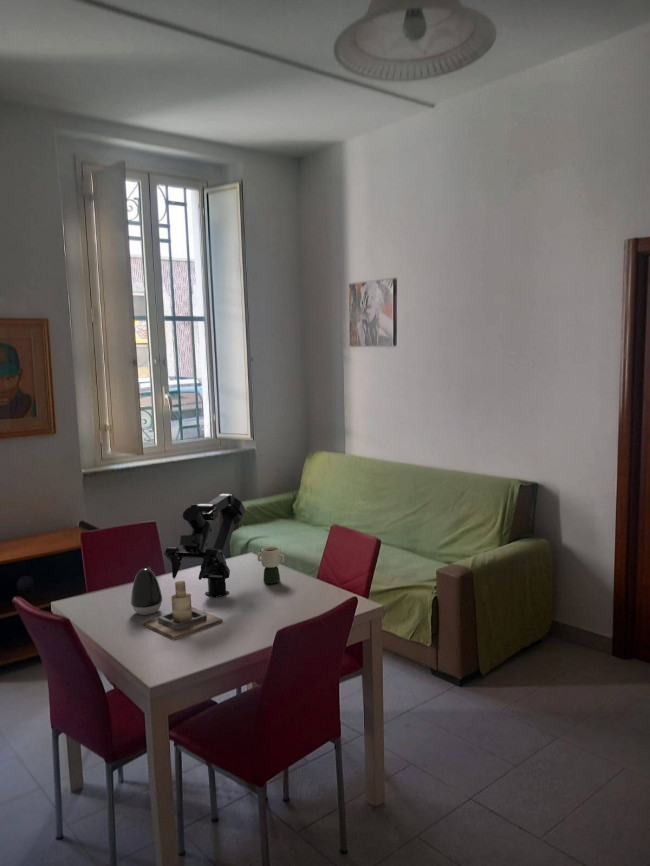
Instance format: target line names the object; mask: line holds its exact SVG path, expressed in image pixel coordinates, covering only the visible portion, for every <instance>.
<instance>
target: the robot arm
mask: <svg viewBox="0 0 650 866" xmlns="http://www.w3.org/2000/svg"><path fill="white" fill-rule="evenodd" d="M245 508H246V507H245V505H244V504H243V502H242V501H241V500H239V499H238V498H236V497H235V496H234V494H231V493H220V494H219V495H218V496H217V497H215V498H214V499H212V500H210V501H209V502H201V503H198V504H196V503H195V504H194V503H193V504H191V506H190V507H187V508H185V510H184V511H183V513H182V518H183V520H184V521H185V523H186V524H187V526H188V527H189V528H190V529H191V533H190V534H188V535H184V534H183V535H182V534H181V535H180V539H179V546H182V549H183V550H185V551H181V550H180V549H179V548H178V547H175V546H174V547H173V546H172V547H171V546H167V547H166V548H165V549H164V553H163V554H164V556H165V557H166V558H167V559H168V561H169V562H170V563H171V571H172V572H171V574H172V576H171V577H172V579H173V580H175V579H176V577H177V575H178V573H179V570H180V567H181V565H182V562H181V561H182V559H183V558H187V559H188V558H189V559H191V558H192V559H202V562H201V564H200V571H199V574H198V580H200V581H201V580H202V579H204V580H205V579H207V586H208V587H207V589H208V591H206V592H204V595H206V596H208V597H209V596H210V597H212V598H219V597H222V596H225V595H228V594H230V590H229V591H228V590H227V585H226V584H227V583H226V579H229V578H230V575H231V573H230V572H231V569H230V568H229V566H228V565H227V561H226V557H225V555H226V552H227V551H228V546H229V544H230V540H231V537H232V535H233V531H234V528H235V526H236V525H237V524H238V523H240V522H241V521H242V520H243V516H244V515H245V511H246V509H245ZM219 513H220V514H221V518H222V521H221V524H220V526H219V527H220V528H219V530H218V532H217V536H216V539H215V542H214V543H213V547H212V548H206V547H208V542H207V540H208V538H209V533H211V532H212V531H213V528H212V526H211V523H210V522H208V521H211V522H214V521H216V519H217V518H218V517H219ZM205 548H206V549H205Z"/></svg>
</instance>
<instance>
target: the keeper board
mask: <svg viewBox="0 0 650 866" xmlns="http://www.w3.org/2000/svg"><path fill="white" fill-rule="evenodd" d="M191 609H192V619H190V620H187V621H184V622H182V623H179V624H178V623H175V622H173V613H172V611H171V612H169V613H165V614H163V615H160V616H158V617H157V616H156V617H154V618H151V619H147V620H144V621H142V626H144V627H147V628H148V629H151V630H152V631H154V632H156V633H159V634H161V635H163V636H165V637H167V638H170V639H171V640H174V641H175V640H179V639H181V638H183V637H187V636H188V635H191V634H194V633H196V632H199V631H201V630H205V629H207V628H209V627H213V626H216V625H218V624H221V623H223V618H221V617H218V616H215V615H213V614H212V613H208V612H205V611H203V610H201V609H198V608H196V607H193V606H191Z"/></svg>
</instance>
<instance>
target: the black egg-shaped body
mask: <svg viewBox="0 0 650 866" xmlns="http://www.w3.org/2000/svg"><path fill="white" fill-rule="evenodd" d="M162 602H163V595H162V590H161V586H160V584H159V580H158V579H157V577H156V574H155V573H154V572H153V570H152V568H151V566H147V568H146V567H145V568H141V569H139V570H138V571H137V573H136V575H135V578H134V580H133V585H132V589H131V595H130V605H131V606H132V608H133V611H134V612H135V613H136V614H139V615H141V616H149V615H152V614H155V613H156V612H157V611H159V610H160V608H161V606H162Z"/></svg>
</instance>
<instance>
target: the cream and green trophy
mask: <svg viewBox="0 0 650 866" xmlns="http://www.w3.org/2000/svg"><path fill="white" fill-rule="evenodd" d="M257 561H258V562H261V566H262V567H264V571H263V580H262V581H263V583H266V584H274V583H278V582H280V581H281V576H280V571H279V566H280V565H281V564H283V563H285V554H282V553H281V549H280V547H279V546H276V545H275V546H274V545H273V546H272V545H271V546H265V547H262V548H260V552H257Z"/></svg>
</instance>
